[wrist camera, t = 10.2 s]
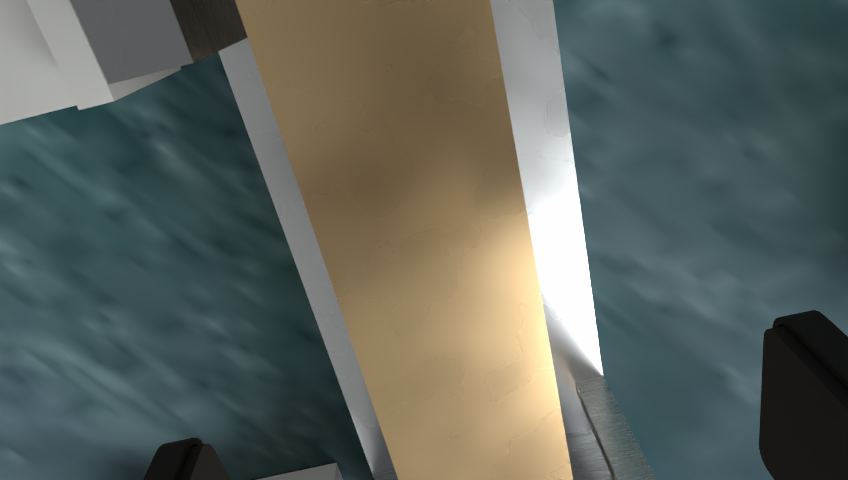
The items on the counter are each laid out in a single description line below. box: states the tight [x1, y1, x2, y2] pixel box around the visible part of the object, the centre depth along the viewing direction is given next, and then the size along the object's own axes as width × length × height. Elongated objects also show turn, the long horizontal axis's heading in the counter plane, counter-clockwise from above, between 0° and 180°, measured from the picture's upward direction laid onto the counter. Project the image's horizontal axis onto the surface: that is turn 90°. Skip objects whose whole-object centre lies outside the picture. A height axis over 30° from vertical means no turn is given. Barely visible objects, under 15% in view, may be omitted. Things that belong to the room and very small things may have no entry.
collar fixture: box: [71, 0, 656, 480], centre depth 15 cm, size 22×9×9 cm, turn 13°
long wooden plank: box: [235, 0, 573, 480], centre depth 15 cm, size 23×4×4 cm, turn 13°
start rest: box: [0, 0, 343, 480], centre depth 18 cm, size 21×6×4 cm, turn 13°
